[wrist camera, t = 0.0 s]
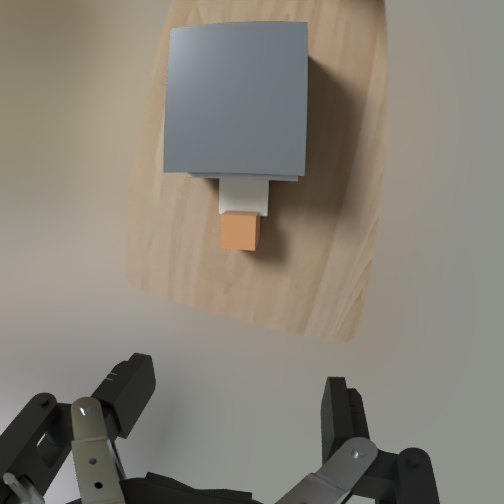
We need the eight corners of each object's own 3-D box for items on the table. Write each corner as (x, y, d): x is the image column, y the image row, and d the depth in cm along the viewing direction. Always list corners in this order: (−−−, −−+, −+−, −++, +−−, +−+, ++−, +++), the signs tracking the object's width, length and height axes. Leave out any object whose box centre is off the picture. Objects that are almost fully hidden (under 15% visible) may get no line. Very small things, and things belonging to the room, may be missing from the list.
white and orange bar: (225, 86, 36) (216, 77, 31) (272, 86, 35) (269, 76, 30) (221, 237, 42) (212, 247, 37) (267, 240, 41) (263, 251, 36)
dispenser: (198, 55, 35) (171, 28, 26) (305, 53, 34) (307, 22, 24) (193, 176, 40) (163, 182, 31) (301, 180, 38) (304, 186, 29)
